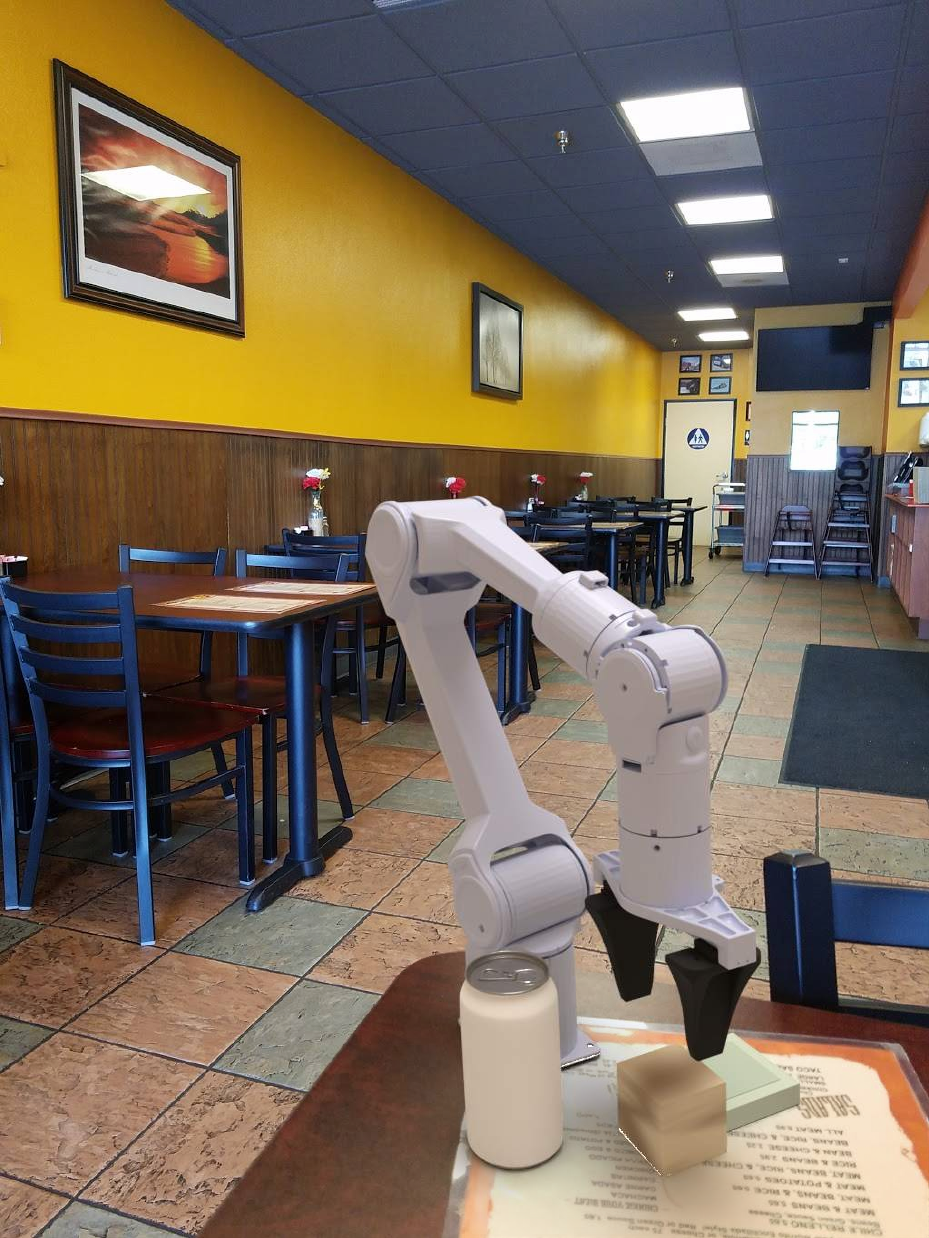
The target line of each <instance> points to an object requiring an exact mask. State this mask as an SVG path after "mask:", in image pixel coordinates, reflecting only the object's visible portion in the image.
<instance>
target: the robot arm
mask: <svg viewBox="0 0 929 1238" xmlns="http://www.w3.org/2000/svg"><path fill="white" fill-rule="evenodd" d="M368 523H369V524H368V527H367V534H366V535H367V536H366V543H365V552H364V556H365V558H366V562H367V564H368V567H369V569H370V573H371V575H372V579H373V582H374V584H375V585H374V586H375V587H376V590H377V593H378V595H379V598H380V601H381V604H382V607H383V609H384V612H385V615H386V616H387V617H389V618H391V619H393V620H394V621H395V624H396V628H397V631H398V634H399V637H400V640H401V642H402V645H403V648H404V651H405V653H406V656H407V660H408V662H409V664H410V667H411V670H412V674H413V676H414V679H415V681H416V684H417V687H418V690H419V694H420V695H421V699H422V702H423V705H424V707H425V710H426V712H427V716H428V718H429V721H430V725H431V727H432V729H433V732H434V735H435V738H436V741H437V744H438V746H439V749H440V752H441V755H442V757H443V760H444V761H443V762H444V763H445V766H446V769H447V772H448V775H449V777H450V780H451V784H452V786H453V789H454V791H455V795H456V797H457V800H458V803H459V805H460V809H461V811H462V814H463V817H464V819H465V823H466V826H465V828H464V830H463V832H462V833H461V835H460V837H459V838H458V840H457V841H456V844H455V845H454V847H453V849H452V850H451V852H450V854H449V856H448V858H447V860H446V865H447V868H448V871H449V874H450V878H451V883H452V888H453V889H452V890H453V905H454V906H453V907H454V911H455V915H456V918H457V921H458V924H459V926H460V928H461V930H462V931H463V933H464V935H465V936H466V937H467V940H466V944H465V950H464V951H465V953H464V954H465V968H466V967H467V965H468V964H469V963H470V962H471V961H473V960H474V959H476V958H477V957H479V956H482V955H484V954H487V953H491V952H496V951H505V950H514V951H523V952H528V953H531V954H534V955H537V956H539V957H540V958H542V959H543V960H545V961H546V962H547V964H548V965H549V967H550V977H551V979H552V980H553V982H554V984H555V986H556V989H557V994H558V1009H559V1031H560V1055H561V1066H562V1065H565V1064H567V1063H571V1062H573V1061H576V1060H579V1059H582V1058H587V1057H590V1056H592V1055H597V1054H599V1053H600V1054H601V1047H600V1046H599V1045H598V1044H597V1043H596V1042H595V1041H593V1039H591V1038H590V1037H589V1036H588V1034H586V1033H585V1032H584V1030H582V1029H581V1028H580V1027H579V1026H578V1015H577V1014H578V1013H577V1009H578V1008H577V985H576V963H575V961H576V960H575V959H576V958H575V938H574V937H575V936H576V935H577V934H578V933H581V932H582V922H581V918H582V917H584V916H586V915H587V914H589V916H590V918H591V919H592V920H593V921H592V922H593V923H594V925H595V926H596V928H597V930H598V933H599V934H600V937H601V940H602V941H603V944H604V946H605V947H604V948H605V950H606V952H607V955H608V959H609V962H610V967H611V969H612V973H613V977H614V981H615V984H616V987H617V991H618V994H619V996H620V999H621V1000H622V1001H624V1002H625V1003H628V1002H632V1001H635V1000H639V999H641V998H645V997H648V996H651V995H652V991H653V987H654V980H655V964H656V963H655V961H656V960H655V959H656V944H657V937H658V931H659V926H660V925H662V926H665V927H668V928H671V929H675V930H677V931H680V932H683V933H685V934H686V935H688V936H690V937H691V938H692V939H693V947H691V946H690V947H687V948H684V949H680V950H677V951H676V950H675V951H673V952H671V953H667V954H664V962H665V964H666V965H667V966H668V967H667V968H668V969H669V971H670V973H671V975H672V977H673V980H674V983H675V985H676V987H677V989H676V990H677V991H678V994H679V999H680V1000H679V1001H680V1002H681V1008H682V1015H683V1025H684V1033H685V1034H684V1035H685V1041H686V1045H687V1046H686V1048H688V1050H689V1053H690V1056H691V1057H692V1058H693V1059H695V1060H696V1061H702V1060H705V1059H708V1058H710V1057H713V1056H716V1055H719V1054H722V1053H723V1050H724V1047H725V1043H726V1039H727V1035H728V1034H729V1031H730V1027H731V1024H732V1020H733V1016H734V1013H735V1010H736V1008H737V1005H738V1002H739V1000H740V998H741V996H742V993H743V992H744V989H745V988H746V986H747V985H748V982H750V979H751V978H752V977H753V975H754V974H755V972H756V970H757V969H758V968H759V966H760V965H761V963H762V951H761V950H760V948H759V947H758V946H757V935H756V934H757V933H756V931H757V930H755V929H754V928H753V927H750V926H749V925H748V924H746V923H745V922H744V921H743V920H741V918H740V917H739V916H738V914H736V912H735V911H734V909H733V908H731V906H730V905H729V903H728V902H727V901H726V900H725V898H723V896H722V895H721V894H720V893H723V892H724V890H725V880H724V879H723V878H721V877H719V875H716V874H714V873H713V867H712V866H713V864H712V860H713V859H712V821H711V820H712V808H711V806H712V804H711V803H712V802H711V763H710V762H711V761H710V759H711V758H710V757H711V753H710V752H711V751H710V715H709V714H711V713H713V712H714V711H716V710H717V709H718V708H719V707H720V706H721V704H723V701H724V700H725V699H726V696H727V692H728V689H729V668H728V664H727V660H726V658H725V655H724V653H723V651H722V649H721V647H719V645H718V644H717V642H716V641H715V640H714V639H713V638H712V637H711V636H709V634H707V633H706V631H704V629H703V628H702V627H700V626H698V625H695V624H680V625H676V626H670V625H669V624H667V623H666V622H663V623H661V622H660V621H659V620H658V618H659V617H658V615H657V614H656V613H654V612H653V611H651V609H649V608H643V609H641V608H640V607H638V605H636V604H634V603H633V602H631V601H630V600H628V599H627V598H626V597H624V596H623V595H622V594H620V593H619V592H617V591H616V590H614V589H613V588H611V587H610V586H609V585H608V583H609V578H608V576H606V575H605V574H604V573H602V572H600V571H599V570H590V571H583V570H573V571H569V572H566V573H562V572H561V571H560V570H559V569H558V568H557V567H555V565H553V564H552V563H550V561H548V560H547V559H546V558H545V557H544V556H542V555H541V554H540V553H539V552H538V551H536V550H535V549H534V548H533V547H532V546H531V545H529V543H527V542H526V541H525V540H524V539H523V538H522V537H520V535H518V534H517V533H516V532H514V530H512V529H511V528H510V527H509V526H508V524H507V518H506V514H505V511H504V510H503V509H502V508H501V507H498V506H497V505H496V506H495V505H493V504H492V503H491V501H489V500H488V499H486V498H485V497H483V496H479V495H473V496H468V497H466V498H456V499H439V500H438V499H436V500H422V501H421V500H420V501H407V502H406V501H403V502H399V501H398V502H397V501H395V500H389V501H383V502H382V503H379V505H377V506H376V508H375V510H374V511H373V513H372V515H371V518H370V520H369V522H368ZM487 585H488V586H490V587H491V588H493V589H494V590H496V591H498V592H499V593H501V594H502V595H503V596H504V597H507V598H508V599H509V600H511V601H512V602H513V603H516V604H517V605H518V606H520V607H521V608H522V609H524V610H525V611H527V612H529V613H530V614H532V616H531V618H532V619H531V626H532V632H533V633H534V636H535V637H536V638H537V639H538V641H539V642H541V643H542V644H543V645H544V646H546V647H547V648H548V650H551V651H552V652H553V653H554V654H555V655H557V657H559V658H560V659H561V660H563V661H564V662H565V663H566V664H567V665H569V666H570V667H571V668H572V669H574V671H576V672H577V673H578V674H579V675H581V676H582V678H584V679H585V680H587V681H588V682H589V683H590V684H591V685H592V686H591V687H592V691H593V697H594V700H595V703H596V705H597V708H598V710H599V712H600V714H601V716H602V717H603V719H604V722H605V725H606V727H607V745H608V746H610V748H611V752H612V755H613V756H615V763H616V766H615V767H616V791H617V794H616V795H617V797H616V798H617V819H618V820H617V823H618V825H617V829H618V849H616V848H615V849H610V850H607V851H603V852H599V853H594V854H592V867H591V865H590V863H589V861H588V859H587V858H586V856H585V854H584V852H582V850H581V849H580V848H579V846H578V845H577V844H576V843H575V841H574V840H573V838H572V837H571V834H570V832H569V829H568V828H567V825H566V822H565V820H564V818H562V817H560V816H558V815H556V814H554V813H553V812H550V811H549V810H547V809H544V808H543V807H540V806H538V805H537V804H535V803H533V802H532V801H531V799H530V797H529V793H528V791H527V789H526V786H525V784H524V781H523V779H522V775H521V772H520V770H519V768H518V767H519V766H518V765H517V762H516V760H515V756H514V754H513V752H512V748H511V746H510V744H509V740H508V738H507V735H506V732H505V731H504V728H503V724H502V722H501V719H500V717H499V714H498V711H497V709H496V706H495V704H494V701H493V698H492V696H491V694H490V691H489V688H488V686H487V683H486V682H487V681H486V680H485V677H484V674H483V671H482V670H481V667H480V664H479V661H478V659H477V656H476V653H475V651H474V648H473V646H472V643H471V640H470V637H469V635H468V633H467V632H468V631H467V630H466V627H465V623H464V622H465V621H464V620H465V618H466V614H467V611H469V610H471V608H473V607H474V606H475V605H477V604H478V603H479V600H480V598H481V596H482V594H483V593H484V590H485V588H486V586H487ZM515 848H525V849H523V850H521V851H518V852H515V853H512V854H509V855H507V856H503V857H501V858H498V859H494V860H492V857H493V856H495V855H498V854H501V853H503V852H506V851H509V850H510V851H511V850H512V849H515ZM595 882H596V883H597V884H599V885H600V886H603V887H602V888H600V892H597V893H596V884H595ZM457 1021H458V1022H457V1023H458V1025H459V1026H460V1027H461V1020H460V1017H458V1019H457ZM588 1045H592V1046H593V1047H588Z"/></svg>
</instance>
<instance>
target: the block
mask: <svg viewBox="0 0 929 1238" xmlns="http://www.w3.org/2000/svg"><path fill="white" fill-rule="evenodd" d="M686 1048H687V1047H684V1045H682V1044H681V1043H680V1042H675V1043H672V1044H669V1045H666V1046H664V1047H660V1048H658V1049H655V1050H652V1051H648V1052H645V1053H642V1054H639V1055H637V1056H634V1057H631V1058H628V1059H625V1060H622V1061H619V1062H616V1063H615V1064H616V1091H617V1094H616V1095H617V1123H618V1127H619V1128H620V1129H621V1131H623V1133H624V1134H626V1136H627V1138H629V1140H630V1141H631V1142H632V1143H633V1144H634V1145H635V1147H637V1149H638V1150H639V1151H640V1152H642V1154H643V1155H644V1156H645V1157H646V1159H647V1160H648V1161H649V1162H650V1163H651V1164H652V1166H653V1167H655V1169H656V1170H658V1172H659V1173H660V1174H661V1176H662V1177H665V1178H667V1177H668V1176H667V1175H669V1174H670V1176H672V1175H675V1174H676V1173H679V1171H680V1172H682V1171H684V1170H686V1169H689V1168H691V1167H695V1166H698V1165H699V1164H701V1163H704V1162H706V1161H709V1160H712V1159H714V1158H716V1157H719V1156H722V1155H724V1154H727V1153H728V1135H727V1133H728V1132H727V1115H726V1082H725V1081H724V1080H723V1079H722V1078H721V1077H719V1076H718V1075H717V1074H716V1073H715V1072H713V1071H712V1070H711V1069H710V1068H709V1067H707V1066H706V1065H705V1064H704V1063H703V1062H701V1061H696V1060H695V1059H693V1058H692V1057H691V1056H690V1053H689V1051H688V1050H687V1049H686ZM618 1127H617V1128H618ZM652 1166H651V1167H652ZM653 1167H652V1168H653ZM655 1169H654V1170H655ZM656 1170H655V1171H656ZM674 1173H675V1174H674ZM671 1174H672V1175H671ZM661 1176H660V1177H661ZM666 1176H667V1177H666ZM662 1177H661V1178H662Z"/></svg>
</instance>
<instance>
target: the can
mask: <svg viewBox="0 0 929 1238" xmlns="http://www.w3.org/2000/svg"><path fill="white" fill-rule="evenodd" d="M463 973H464V978H465V979H464V981H463V984H462V986H461V989H460V991H459V1018H460V1020H461V1026H460V1036H461V1053H462V1054H461V1056H462V1072H463V1088H464V1107H465V1121H466V1122H465V1123H466V1134H467V1136H466V1137H467V1142H468V1144H469V1147H470V1148H471V1150H472V1151H473V1152H474V1153H475V1155H477V1156H478V1157H479V1158H480V1159H481V1160H482V1161H484V1162H485V1163H487V1164H489V1165H490V1166H493V1167H497V1168H500V1169H503V1170H505V1169H506V1170H514V1171H515V1170H518V1171H519V1170H524V1169H530V1168H534V1167H537V1166H539V1165H542V1164H543V1163H545V1162H547V1161H548V1160H550V1158H551V1157H552V1156H554V1154H555V1153H557V1151H558V1150H559V1149H560V1147H561V1146H562V1143H563V1139H564V1118H563V1117H564V1113H563V1111H564V1110H563V1088H562V1085H563V1083H562V1068H561V1055H560V1031H559V1009H558V994H557V989H556V986H555V984H554V982H553V980H552V979H551V977H550V967H549V965H548V964H547V962H546V961H545V960H543V959H542V958H540V957H539V956H537V955H534V954H531V953H528V952H523V951H514V950H505V951H496V952H491V953H487V954H484V955H482V956H479V957H477V958H476V959H474V960H473V961H471V962H470V963H469V964H468V965H467V967H466V966H465V969H464V972H463Z"/></svg>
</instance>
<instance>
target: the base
mask: <svg viewBox="0 0 929 1238" xmlns="http://www.w3.org/2000/svg"><path fill="white" fill-rule="evenodd" d="M685 1048H686V1049H687V1050H688V1047H685ZM688 1051H689V1050H688ZM701 1062H703V1063H704V1064H705V1065H706V1066H707V1067H709V1068H710V1069H711V1070H712V1071H713V1072H715V1073H716V1074H717V1075H718V1076H719V1077H721V1078H722V1079H723V1080H724V1081H725V1082H726V1115H727V1133H728V1132H731V1131H733V1130H735V1129H737V1128H740V1127H744V1126H745V1125H749V1124H751V1123H753V1122H756V1121H758V1120H761V1119H764V1118H766V1117H768V1116H771V1115H775V1114H776V1113H778V1112H781V1111H783V1110H787V1109H789V1108H791V1107H793V1106H797V1105H799V1104H801V1083H800V1081H798V1080H796V1079H795V1078H793V1077H792V1076H791V1075H790V1074H788V1073H787V1072H786V1071H785V1070H783V1069H782V1068H780V1067H779V1066H778V1065H776V1064H775V1063H774V1062H773V1061H771V1060H770V1059H768V1058H767V1057H766V1056H764V1055H763V1054H762V1053H760V1052H759V1051H758V1050H757V1049H755V1048H754V1047H753V1046H751V1045H750V1044H749V1043H747V1042H746V1041H744V1040H743V1039H742V1038H741V1037H739V1036H738V1035H737V1034H735V1033H734V1032H730V1033H728V1035H727V1039H726V1043H725V1047H724V1050H723V1053H722V1054H719V1055H716V1056H713V1057H710V1058H708V1059H705V1060H702V1061H701Z"/></svg>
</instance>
